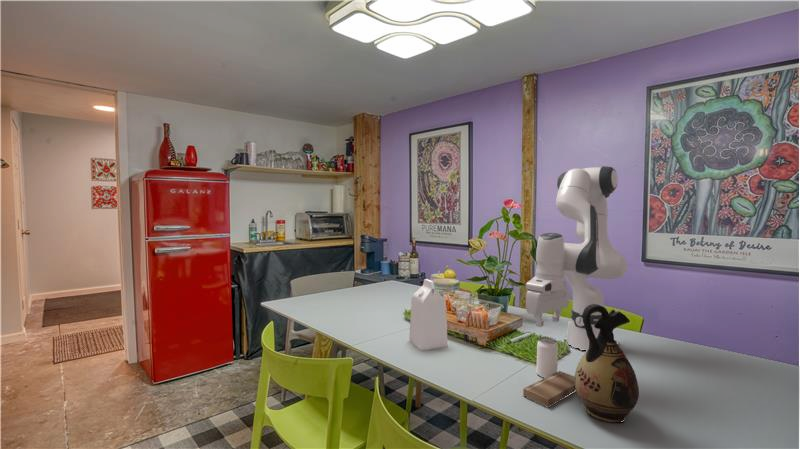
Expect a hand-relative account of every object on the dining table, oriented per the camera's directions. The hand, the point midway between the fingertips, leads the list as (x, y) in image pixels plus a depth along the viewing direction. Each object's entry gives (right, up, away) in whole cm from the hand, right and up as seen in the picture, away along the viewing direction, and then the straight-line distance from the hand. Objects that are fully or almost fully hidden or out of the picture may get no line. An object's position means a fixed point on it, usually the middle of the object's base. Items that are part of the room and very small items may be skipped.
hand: (547, 323), depth 126 cm
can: (0, -18, +1) cm, 18 cm away
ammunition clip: (-18, -16, +29) cm, 38 cm away
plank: (-2, -18, -10) cm, 21 cm away
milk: (-38, -16, +29) cm, 50 cm away
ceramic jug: (+6, -19, -22) cm, 30 cm away
